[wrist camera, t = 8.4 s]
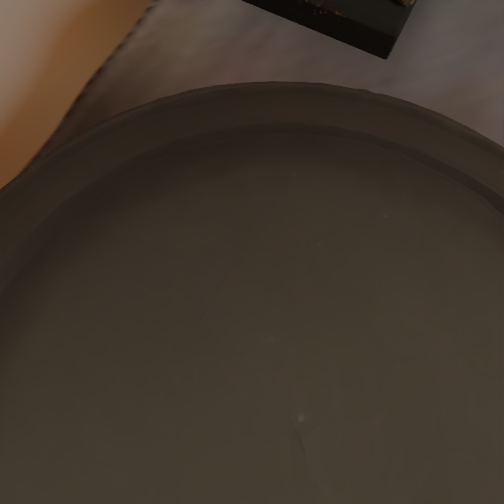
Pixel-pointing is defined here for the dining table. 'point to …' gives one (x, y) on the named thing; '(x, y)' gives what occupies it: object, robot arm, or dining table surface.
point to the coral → (348, 19)
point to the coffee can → (256, 305)
